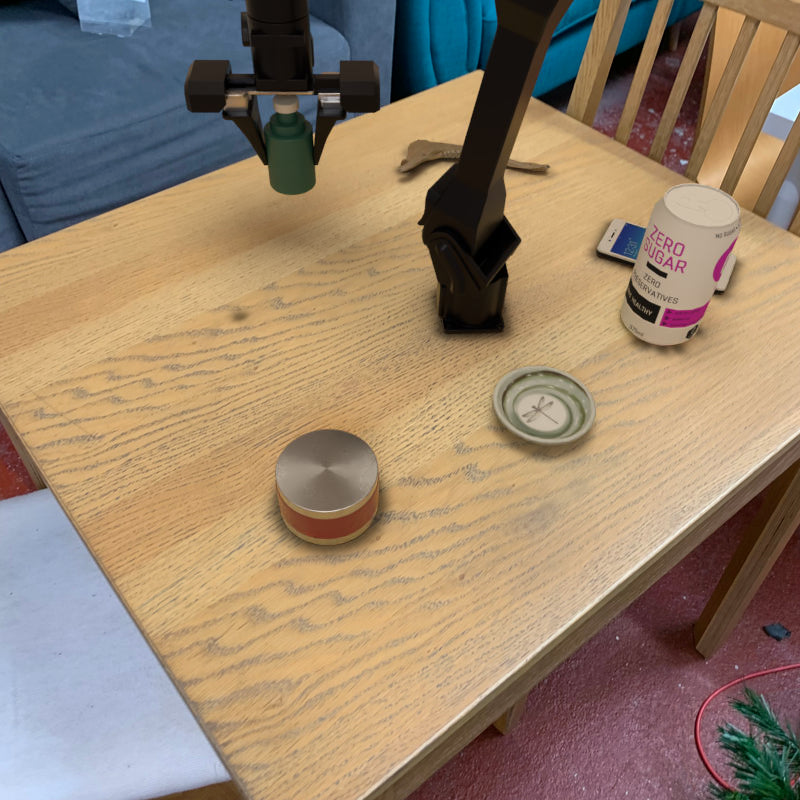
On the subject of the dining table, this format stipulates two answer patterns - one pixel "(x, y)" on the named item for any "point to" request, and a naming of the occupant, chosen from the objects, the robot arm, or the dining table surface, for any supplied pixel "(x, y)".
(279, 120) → the bottle
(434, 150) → the jawbone
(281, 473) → the tin
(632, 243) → the smartphone
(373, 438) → the dining table surface
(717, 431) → the dining table surface
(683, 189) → the supplement can
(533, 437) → the saucer
